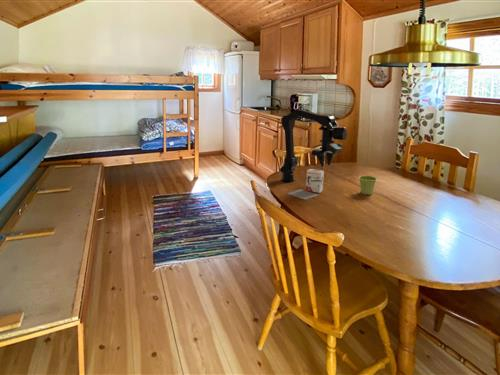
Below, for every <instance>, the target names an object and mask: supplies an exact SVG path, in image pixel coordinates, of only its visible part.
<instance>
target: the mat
mask: <svg viewBox="0 0 500 375" xmlns="http://www.w3.org/2000/svg"><path fill="white" fill-rule="evenodd" d="M287 195H289V196H293V197H295V198H298V199H301V200H305V201H306V200H309V199H311V198H314V197H318V196H319V194H317V193H315V192H311V191H306V189H302V188H300V189H298V190H294V191H291V192H288V193H287Z"/></svg>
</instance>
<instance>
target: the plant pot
mask: <svg viewBox="0 0 500 375" xmlns="http://www.w3.org/2000/svg"><path fill="white" fill-rule="evenodd" d="M358 179H359V184H360V185H359V187H360V194H363V195H373V193H374V188H375V185H376V184H375V183H376V181H377V180H378V178H377V177H375V176H372V175H359V177H358Z"/></svg>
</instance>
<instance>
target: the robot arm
mask: <svg viewBox="0 0 500 375" xmlns="http://www.w3.org/2000/svg"><path fill="white" fill-rule="evenodd" d="M299 118H303V119H306V120H310V121H314V122H317V123H318V124H319V125H320V127H319V128H318V130H319V131H322V132H321V139H320V140H319V142H320V143H321V146H320V147H319V148H316V149H315V148H314V149H312V150H311V154H310V155H312V156H316V158H317V160H318V163H319V164H320V166H321V168H323V167H324V166H325V158H326V163H327V165H328V166H330V165H331V163H332V161H333V158H334V156H335V155H337V154H340V153H341V151H343V144H342V143H338V144H337V143H335V140H338V141H346V140H347V138H348V132H347V127H345V126H341V127H340V126H339V125H338V123H337V121H336V118H335V116H334V115H332V114H327V113H326V114H320V113H317V112H313V111H309V110H306V109H303V108H297V109H295V110H293V111H291V112H290V113H289V114H286V115H282V117H281V119H280V123H281V127H282V129H283V130H284V143H285V157H284V159H283V165H281V167H280V168H279V170H280V172H281V173H282V174H281V178H280V182H281V181H282V182H283V183H291V182H294V181H295V179H294V171H295V169H296V168H297V166H298V164H299V157H298V156H296V155H295V146H294V144H295V143H294V128H295V126H296V121H297V120H298V119H299Z"/></svg>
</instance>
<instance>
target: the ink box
mask: <svg viewBox="0 0 500 375" xmlns="http://www.w3.org/2000/svg"><path fill="white" fill-rule="evenodd" d="M324 173H325V171H324V170H322V169H317V168H316V169H314V168H310V169H307V170H306V180H305V181H306V182H305V191H308V192H311V193H316V194H317V193H318V194H320V193H321V192H323V190H324V189H323V186H324V176H325V174H324Z"/></svg>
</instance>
